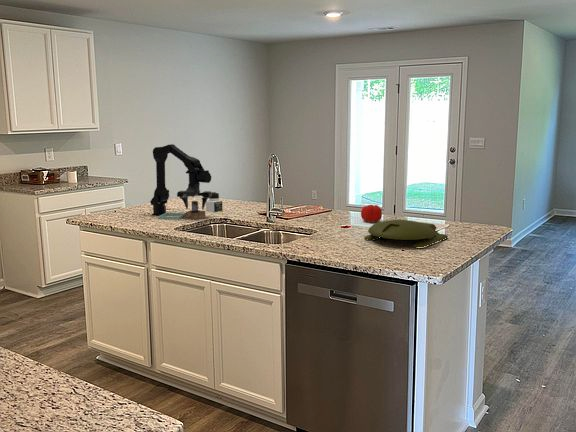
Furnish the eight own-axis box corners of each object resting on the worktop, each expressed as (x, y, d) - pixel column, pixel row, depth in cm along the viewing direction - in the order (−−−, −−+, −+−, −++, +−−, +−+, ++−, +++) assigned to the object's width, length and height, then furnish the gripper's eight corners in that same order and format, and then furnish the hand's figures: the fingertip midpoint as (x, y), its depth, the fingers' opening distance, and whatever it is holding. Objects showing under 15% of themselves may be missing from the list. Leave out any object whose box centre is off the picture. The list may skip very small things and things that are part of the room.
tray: (158, 220, 317) (157, 216, 316) (166, 216, 328) (166, 212, 328) (178, 221, 315) (178, 217, 314) (186, 217, 326) (186, 213, 326)
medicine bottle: (214, 213, 338) (213, 193, 336) (205, 212, 342) (205, 192, 340) (222, 212, 344) (222, 192, 341) (214, 210, 348) (213, 191, 346)
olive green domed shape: (392, 230, 292) (393, 211, 290) (449, 239, 272) (450, 219, 270) (355, 243, 265) (355, 222, 263) (415, 253, 246) (416, 231, 244)
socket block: (185, 220, 319) (184, 213, 318) (190, 217, 328) (190, 210, 327) (200, 220, 317) (200, 213, 317) (205, 217, 326) (205, 210, 325)
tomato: (365, 219, 320) (365, 203, 319) (385, 221, 314) (385, 205, 313) (357, 222, 311) (357, 206, 310) (377, 224, 305) (378, 207, 304)
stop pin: (191, 217, 321) (190, 201, 319) (193, 216, 324) (192, 200, 323) (197, 217, 320) (196, 202, 318) (199, 216, 324) (198, 200, 322)
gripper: (172, 183, 312) (174, 211, 315) (205, 183, 309) (206, 212, 312) (180, 180, 323) (181, 207, 326) (211, 181, 320) (212, 208, 323)
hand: (195, 209), depth 321 cm, fingers open, 9 cm apart
